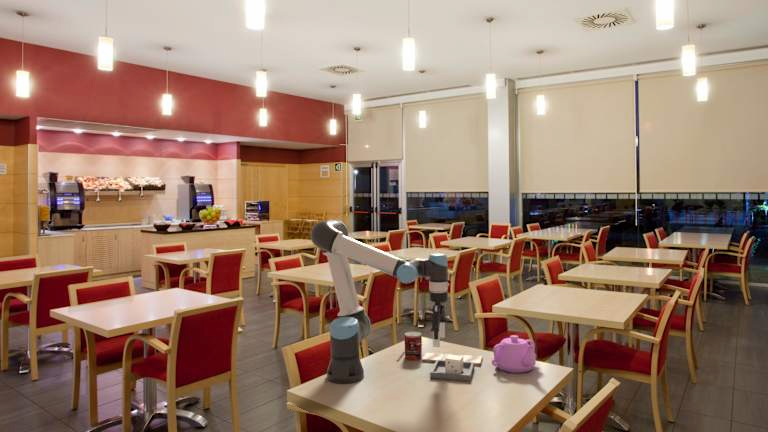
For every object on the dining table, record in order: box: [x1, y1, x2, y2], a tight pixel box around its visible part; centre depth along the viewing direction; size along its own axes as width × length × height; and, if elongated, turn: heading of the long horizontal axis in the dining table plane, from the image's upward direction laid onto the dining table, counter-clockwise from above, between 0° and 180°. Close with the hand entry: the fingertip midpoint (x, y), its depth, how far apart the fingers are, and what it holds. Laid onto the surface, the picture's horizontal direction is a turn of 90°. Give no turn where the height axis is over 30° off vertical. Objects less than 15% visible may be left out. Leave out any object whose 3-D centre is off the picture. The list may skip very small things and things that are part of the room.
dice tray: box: [429, 360, 475, 382], centre depth 213 cm, size 16×16×2 cm
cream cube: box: [445, 353, 463, 374], centre depth 212 cm, size 6×6×6 cm
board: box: [396, 351, 483, 367], centre depth 230 cm, size 37×13×1 cm, turn 75°
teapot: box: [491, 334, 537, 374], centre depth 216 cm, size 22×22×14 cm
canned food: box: [404, 331, 423, 361], centre depth 233 cm, size 8×8×11 cm
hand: (439, 342), depth 214 cm, fingers open, 13 cm apart
